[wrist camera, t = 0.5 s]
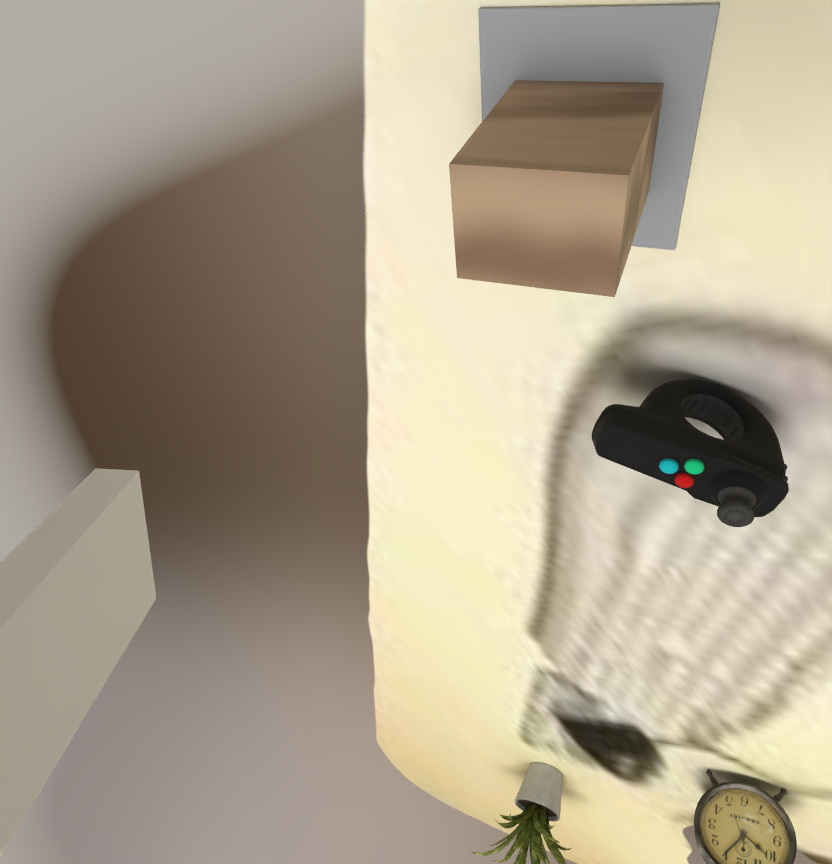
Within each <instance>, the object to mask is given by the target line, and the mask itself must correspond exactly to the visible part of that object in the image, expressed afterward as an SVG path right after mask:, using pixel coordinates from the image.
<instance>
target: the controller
mask: <svg viewBox="0 0 832 864" xmlns="http://www.w3.org/2000/svg"><path fill="white" fill-rule="evenodd" d="M685 417H690V418H694V419H697V420H700V421H702V422H704V423H706V424H708V425H710V426H711V427H712V428H713V429H715V430H716V431H717V432H718V433H719V434H720V435H721V436H722V437H723V439H724V440H722V439H718V438H715V437H712V436H709V435H707V434H705V433H703V432H701V431H699V430H698V429H696V428H695V427H694V426H692V425H691V424H690V423H689V422H688V421H687V420H686V419H685ZM592 440H593V443H594V446H595V449H596V452H597V454H598V455H599V456H601V457H603V458H606V459H608V460H611V461H613V462H615V463H618V464H621V465H623V466H626V467H628V468H631V469H633V470H636V471H638V472H641V473H643V474H646V475H648V476H651V477H653V478H656V479H658V480H661V481H663V482H666V483H668V484H671V485H673V486H676V487H678V488H681V489H683V490H686V491H687V492H688V493H689V494H690V495H691V496H692V497H694V498H696V499H699V500H702V501H704V502H707V503H710V504H713V505H716V506H719V507H718V510H717V516H718V518H719V519H720V520H721V521H722V522H723V523H725V524H727V525H729V526H733V527H743V526H746V525H748V524H750V523H751V522H752V521H753V519H754V517H763V516H765V515H767V514H768V513H770V512H771V511H773V510H774V509H775V508H776V507H777V506H778V505H779V504H780V503H781V501H782V500H783V499H784V498H785V497H786V495H787V493H788V490H789V489H788V483H787V480H788V477H787V476H785V472H786V469H787V465H786V464H784V460H783V456H782V452H781V448H780V444H779V441H778V438H777V436H776V434H775V431H774V430H773V428H772V426H771V425H770V423H769V422H768V421H767V420H766V418H765V417H764V416H763V415H762V414H761V413H760V412H759V411H758V409H757V408H756V407H754V406H753V405H752V404H750V403H749V402H748V401H746V400H745V399H744V398H742V397H741V396H739V395H738V394H736V393H734V392H732V391H730V390H728V389H726V388H724V387H722V386H718V385H715V384H712V383H708V382H703V381H695V380H679V381H672V382H669V383H666V384H663V385H661V386H659V387H657V388H656V389H654V390H653V391H652V392H651V393H650V394H649V395H648V396H647V397H646V399H645V400H644V401H643V403H642V404H641V406H640V407H633V406H627V405H620V404H613V405H610V406H608V407H606V408H605V409H604V411H603V412H602V413H601V415H600V417H599V418H598V420H597V422H596V423H595V426H594V429H593V431H592Z"/></svg>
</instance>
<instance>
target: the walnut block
mask: <svg viewBox="0 0 832 864" xmlns="http://www.w3.org/2000/svg"><path fill="white" fill-rule="evenodd" d="M663 87H664V83H636V82H583V81H530V80H515V81H514V82H513V83H512V85H511V86H510V87H509V88H508V90H507V91H506V92H505V94H504V95H503V96H502V97H501V99H500V100H499V101H498V102H497V104H496V105H495V106H494V108H493V109H492V110H491V111H490V113H489V114H488V115H487V116H486V118H485V119H484V120H483V122H482V123H481V124H480V125H479V127H478V128H477V129H476V131H475V132H474V133H473V134H472V136H471V137H470V138H469V139H468V141H467V142H466V143H465V145H464V146H463V147H462V148H461V150H460V151H459V152H458V153H457V155H456V156H455V157H454V159H453V160H452V161H451V162H450V164H449V168H450V182H451V197H452V211H453V225H454V239H455V253H456V268H457V278H462V279H471V280H479V281H487V282H495V283H504V284H512V285H520V286H528V287H536V288H545V289H553V290H561V291H569V292H578V293H586V294H594V295H602V296H611V297H615V294H616V291H617V288H618V285H619V282H620V279H621V276H622V273H623V270H624V267H625V264H626V260H627V257H628V254H629V251H630V248H631V245H632V242H633V239H634V236H635V233H636V230H637V227H638V224H639V221H640V217H641V214H642V211H643V208H644V205H645V202H646V199H647V196H648V193H649V186H650V179H651V172H652V165H653V158H654V151H655V144H656V137H657V130H658V123H659V116H660V108H661V101H662V94H663Z"/></svg>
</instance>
